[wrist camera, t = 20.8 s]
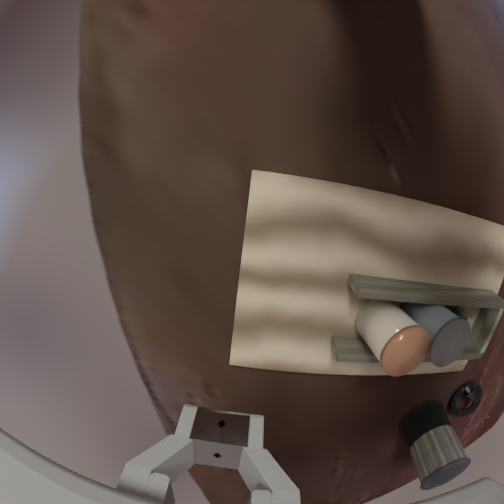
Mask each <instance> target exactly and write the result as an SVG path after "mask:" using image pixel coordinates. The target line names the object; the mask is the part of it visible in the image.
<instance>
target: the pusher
mask: <svg viewBox="0 0 504 504" xmlns="http://www.w3.org/2000/svg"><path fill="white" fill-rule="evenodd" d="M443 306H444V307H446V308H447V309H448V310H450V311H451V312H453V313H454V314H455V315H457V316H458V317H459V318H462V319H464V320H465V321H467V322H468V323H469V325H470V328H471V326H472V323H473V321H474V319H475V318H474V317H473V316H472V315H471V314H470V313H469V312H468V311H466V310H465V309H464V308H463V307H462V306H449V305H443ZM452 363H454V362H452Z"/></svg>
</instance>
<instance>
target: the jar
mask: <svg viewBox="0 0 504 504" xmlns="http://www.w3.org/2000/svg"><path fill="white" fill-rule="evenodd" d="M355 324H356V329H357V331H358V332H359V334H360V335H361V336H362V338H363V339H364V341H365V342H366V343H367V345H368V346H369V348H370V349H371V350H372V352H373V353H374V355H375V356H376V357H377V359H378V360H379V362H380V363H381V366H382V368H383V369H384V371H385V372H386V373H387V374H388V375H390V376H394V377H397V376H402V375H405V374H407V373H409V372H411V371H412V370H414V369H415V368H416V367H418V366H419V365H420V364H421V362H422V361H423V360H424V359H425V357H426V355H427V354H428V351H429V347H430V344H431V338H430V335H429V333H428V332H427V331H426V330H425V329H424V328H423V327H421V326H419V325H418V324H417V323H416V322H415V321H414V320H413V319H412V318H411V317H409V316H408V315H407V314H406V313H405V312H404V311H403V310H402V309H401V308H400V307H399V306H398V305H397V304H395V303H394V302H393V301H388V300H377V299H371V300H369V301H368V302H366V303H365V304H364V305H363V306H362V307H361V309H360V310H359V312H358V314H357V317H356V321H355Z"/></svg>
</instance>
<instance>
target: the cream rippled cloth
mask: <svg viewBox="0 0 504 504" xmlns="http://www.w3.org/2000/svg"><path fill="white" fill-rule="evenodd" d="M503 277H504V226H503V225H500V224H497V223H494V222H491V221H488V220H485V219H482V218H478V217H475V216H472V215H469V214H465V213H462V212H459V211H455V210H452V209H448V208H445V207H441V206H437V205H433V204H430V203H426V202H422V201H418V200H414V199H410V198H406V197H402V196H398V195H393V194H389V193H384V192H380V191H375V190H371V189H366V188H361V187H356V186H351V185H346V184H341V183H335V182H330V181H324V180H318V179H312V178H306V177H300V176H294V175H287V174H280V173H273V172H266V171H258V170H252V177H251V185H250V193H249V201H248V209H247V217H246V225H245V233H244V242H243V250H242V258H241V267H240V275H239V284H238V293H237V301H236V310H235V319H234V328H233V336H232V345H231V354H230V363H229V365H235V366H243V367H251V368H259V369H268V370H278V371H288V372H301V373H316V374H336V375H388V374H387V373H386V372H385V371H384V369H383V368H382V366H381V363H380V362H379V360H378V359H377V357H376V356H375V355H374V353H373V352H372V350H371V349H370V348H369V346H368V345H367V343H366V342H365V341H364V339H363V338H362V336H361V335H360V334H359V332H358V331H357V329H356V324H355V321H356V317H357V314H358V312H359V310H360V309H361V307H362V306H363V305H364V304H365V303H366V302H368V301H369V300H371V299H377V300H388V301H393V302H394V303H395V304H397V305H398V306H399V307H400V308H402V306H403V305H404V304H405V302H410V303H422V304H435V305H449V306H462V307H463V308H464V309H465V310H466V311H468V312H469V313H470V314H471V315H472V316H473V317H474V318H475V319H474V321H473V323H472V326H471V333H470V338H469V341H468V343H467V345H466V347H465V349H464V351H463V352H462V353H461V355H460V356H459V357H458V358H457V359H456V360H455V361H454V363H451V364H449V365H447V366H445V367H436V366H435V365H434V364H433V363H432V362H431V361H430V359H429V358H428V357H427V356H426V357H425V359H424V360H423V361H422V362H421V364H420V365H419V366H418V367H416V368H415V369H414V370H412V371H411V372H409V373H407V374H405V375H409V374H428V373H442V372H453V371H463V369H464V367H465V365H466V363H467V361H468V360H470V359H480V358H481V357H482V356H483V354H484V352H485V350H486V348H487V346H488V344H489V342H490V340H491V338H492V335H493V333H494V331H495V329H496V327H497V325H498V322H499V320H500V318H501V315H502V313H503V310H504V300H503V299H502V298H501V297H499V296H498V292H499V289H500V286H501V283H502V280H503Z"/></svg>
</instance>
